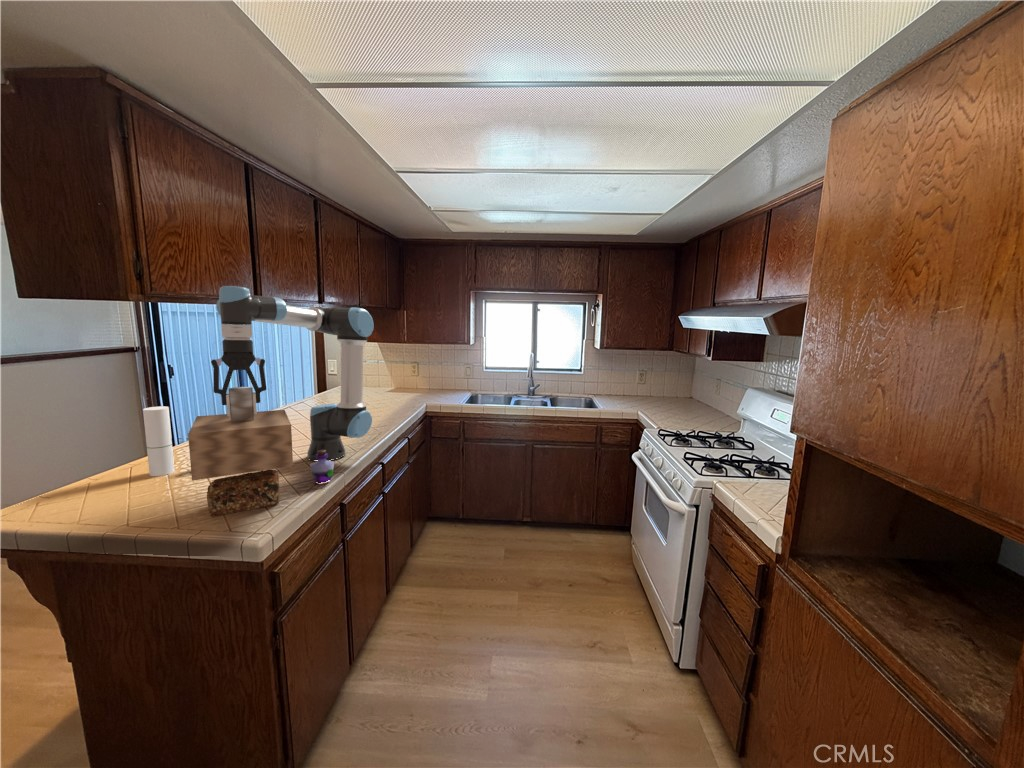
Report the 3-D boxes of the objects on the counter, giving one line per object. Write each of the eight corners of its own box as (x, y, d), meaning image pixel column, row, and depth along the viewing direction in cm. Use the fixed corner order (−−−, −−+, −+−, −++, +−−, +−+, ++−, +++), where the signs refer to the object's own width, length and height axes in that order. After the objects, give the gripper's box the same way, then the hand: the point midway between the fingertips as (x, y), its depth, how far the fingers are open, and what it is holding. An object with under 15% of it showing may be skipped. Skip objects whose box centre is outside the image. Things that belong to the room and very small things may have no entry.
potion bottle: (330, 486, 143) (329, 454, 142) (305, 486, 143) (304, 454, 141) (339, 477, 152) (338, 447, 150) (315, 477, 151) (314, 446, 150)
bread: (279, 493, 136) (278, 465, 135) (280, 506, 127) (278, 476, 126) (212, 504, 127) (209, 474, 126) (207, 518, 118) (204, 486, 116)
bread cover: (286, 445, 142) (283, 381, 138) (293, 466, 122) (289, 391, 118) (200, 455, 128) (194, 385, 125) (191, 480, 108) (185, 397, 105)
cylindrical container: (175, 468, 156) (169, 405, 152) (173, 474, 150) (167, 409, 147) (150, 471, 152) (144, 407, 148) (148, 477, 146) (141, 411, 143)
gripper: (196, 339, 111) (202, 420, 115) (275, 339, 122) (278, 413, 125) (198, 338, 118) (204, 414, 121) (273, 338, 128) (277, 409, 131)
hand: (242, 414), depth 123 cm, fingers closed on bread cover, 6 cm apart
